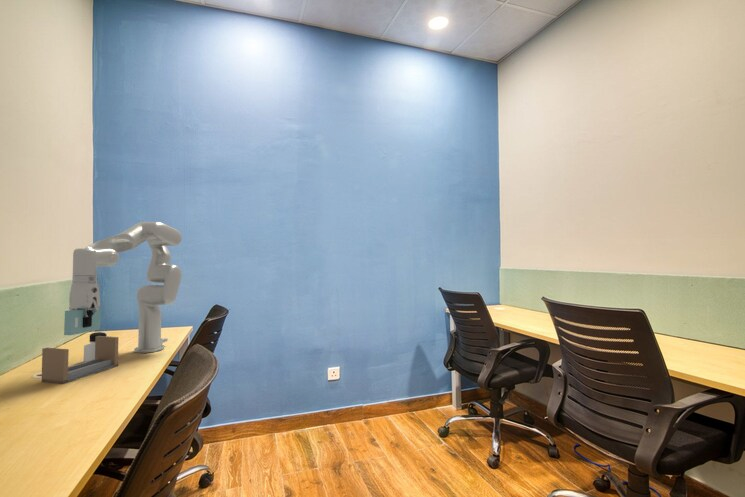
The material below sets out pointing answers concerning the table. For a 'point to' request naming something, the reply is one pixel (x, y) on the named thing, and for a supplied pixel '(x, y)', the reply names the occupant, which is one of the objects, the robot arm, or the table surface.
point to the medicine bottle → (91, 346)
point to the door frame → (58, 367)
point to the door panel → (80, 322)
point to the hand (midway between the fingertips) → (83, 326)
